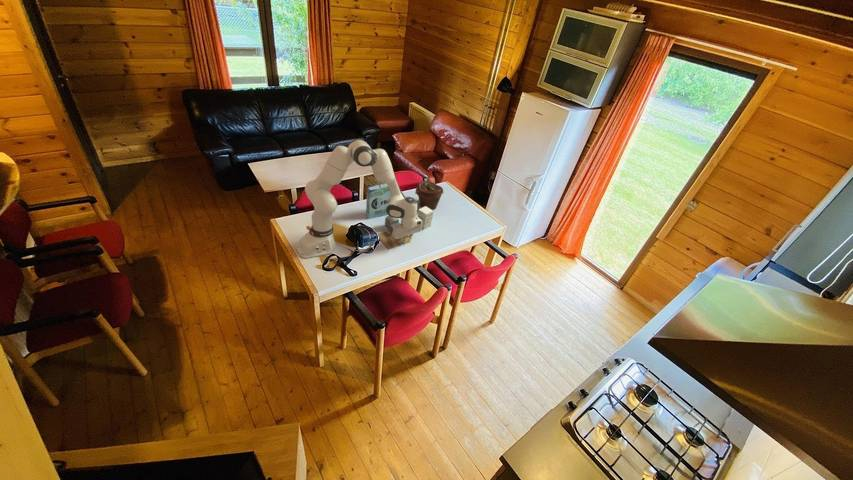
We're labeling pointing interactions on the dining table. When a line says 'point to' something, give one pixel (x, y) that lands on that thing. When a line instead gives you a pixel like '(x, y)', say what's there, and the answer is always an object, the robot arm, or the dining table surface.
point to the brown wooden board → (388, 240)
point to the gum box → (377, 200)
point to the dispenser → (391, 223)
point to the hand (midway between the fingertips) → (406, 239)
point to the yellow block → (406, 239)
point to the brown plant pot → (428, 194)
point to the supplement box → (425, 216)
